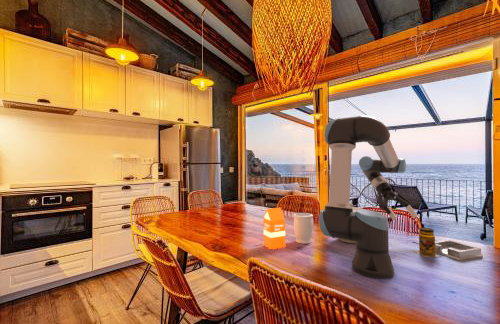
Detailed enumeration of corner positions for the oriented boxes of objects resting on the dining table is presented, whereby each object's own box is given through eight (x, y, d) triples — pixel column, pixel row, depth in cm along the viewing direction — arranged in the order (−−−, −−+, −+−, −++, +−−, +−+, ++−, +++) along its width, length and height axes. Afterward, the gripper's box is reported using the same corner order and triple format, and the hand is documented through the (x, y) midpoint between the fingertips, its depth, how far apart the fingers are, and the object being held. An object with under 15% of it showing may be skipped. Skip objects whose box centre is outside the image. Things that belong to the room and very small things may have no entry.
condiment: (425, 257, 111) (424, 230, 111) (412, 250, 120) (411, 226, 120) (441, 257, 112) (440, 230, 112) (426, 250, 120) (426, 225, 120)
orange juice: (263, 245, 132) (263, 207, 132) (277, 242, 135) (277, 206, 135) (271, 249, 124) (270, 210, 125) (285, 247, 128) (285, 208, 128)
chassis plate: (458, 260, 107) (458, 252, 107) (428, 250, 120) (428, 242, 120) (482, 256, 111) (482, 248, 111) (450, 246, 124) (450, 239, 124)
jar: (316, 241, 137) (316, 214, 137) (307, 245, 129) (306, 217, 130) (300, 237, 144) (299, 211, 144) (290, 241, 137) (289, 214, 137)
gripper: (395, 189, 146) (419, 219, 132) (360, 191, 140) (381, 223, 125) (402, 180, 141) (428, 211, 127) (366, 182, 135) (390, 215, 120)
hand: (405, 217), depth 126 cm, fingers open, 13 cm apart
